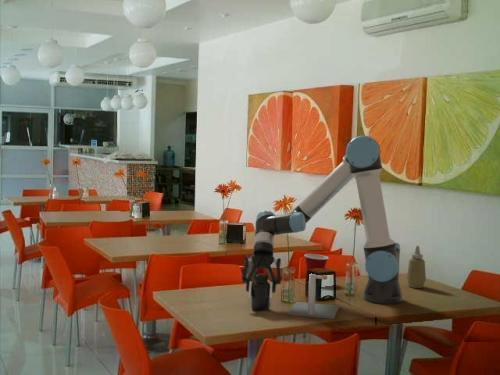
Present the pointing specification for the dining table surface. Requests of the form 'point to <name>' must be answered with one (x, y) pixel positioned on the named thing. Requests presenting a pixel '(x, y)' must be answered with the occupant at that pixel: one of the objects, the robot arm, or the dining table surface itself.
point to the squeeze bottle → (416, 270)
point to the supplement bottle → (260, 292)
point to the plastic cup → (315, 261)
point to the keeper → (312, 308)
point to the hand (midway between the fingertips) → (260, 299)
